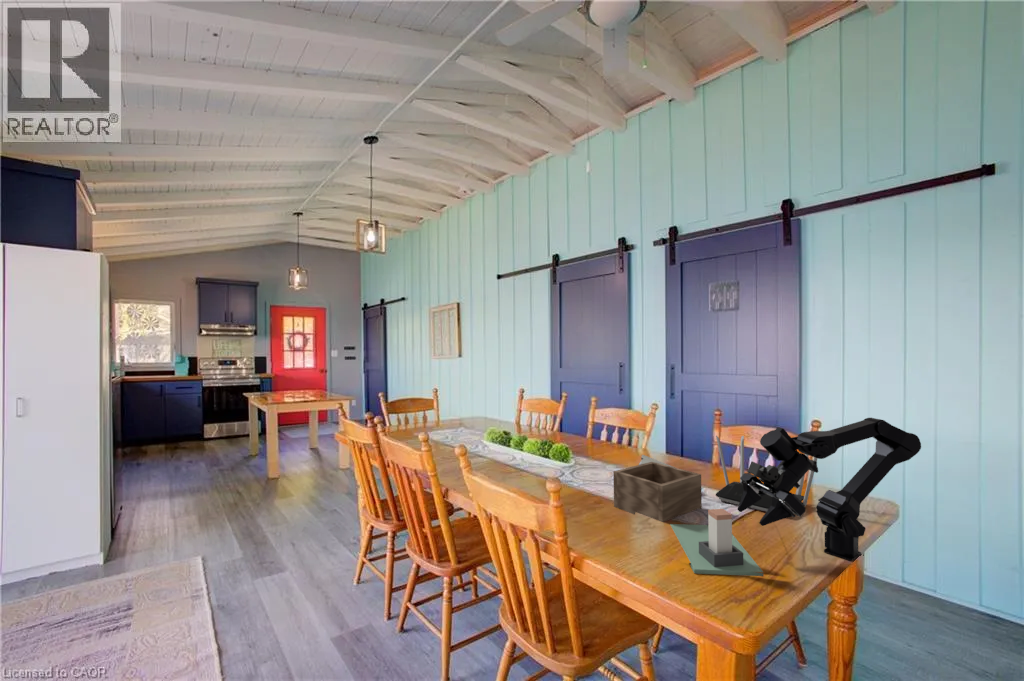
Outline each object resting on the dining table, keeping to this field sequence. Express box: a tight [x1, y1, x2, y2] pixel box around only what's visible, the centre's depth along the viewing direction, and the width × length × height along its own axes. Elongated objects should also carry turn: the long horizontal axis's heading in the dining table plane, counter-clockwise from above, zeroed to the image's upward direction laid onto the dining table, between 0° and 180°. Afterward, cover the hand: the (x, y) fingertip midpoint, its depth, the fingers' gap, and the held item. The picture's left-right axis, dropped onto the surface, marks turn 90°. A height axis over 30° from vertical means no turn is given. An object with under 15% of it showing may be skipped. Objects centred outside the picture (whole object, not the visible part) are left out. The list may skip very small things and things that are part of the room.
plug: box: [707, 508, 733, 553], centre depth 121 cm, size 4×4×12 cm
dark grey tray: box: [699, 541, 743, 567], centre depth 122 cm, size 8×8×3 cm
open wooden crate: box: [612, 462, 703, 523], centre depth 160 cm, size 20×20×12 cm
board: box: [669, 523, 764, 577], centre depth 129 cm, size 28×16×1 cm, turn 173°
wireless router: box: [715, 435, 818, 513], centre depth 165 cm, size 34×23×20 cm
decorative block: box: [638, 454, 674, 467], centre depth 189 cm, size 8×30×8 cm, turn 17°
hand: (749, 517), depth 122 cm, fingers open, 9 cm apart
